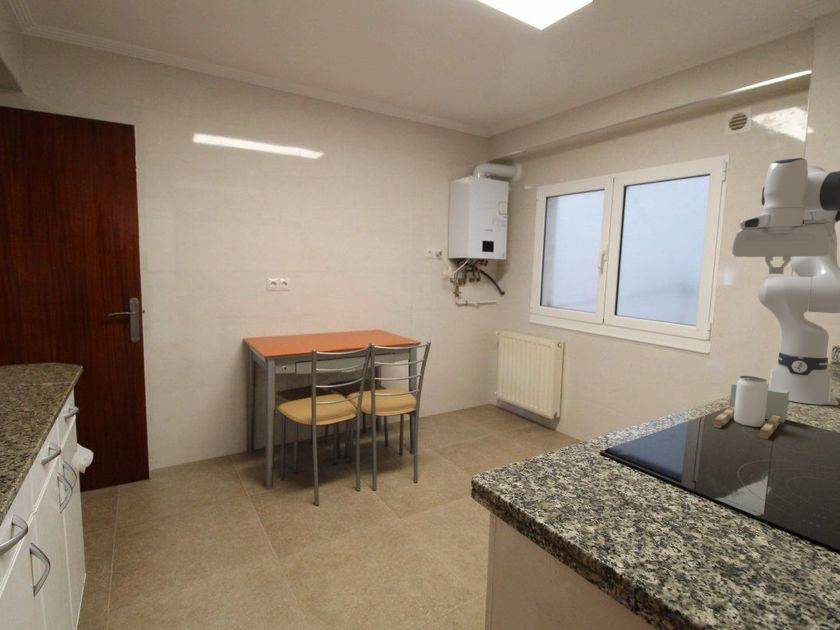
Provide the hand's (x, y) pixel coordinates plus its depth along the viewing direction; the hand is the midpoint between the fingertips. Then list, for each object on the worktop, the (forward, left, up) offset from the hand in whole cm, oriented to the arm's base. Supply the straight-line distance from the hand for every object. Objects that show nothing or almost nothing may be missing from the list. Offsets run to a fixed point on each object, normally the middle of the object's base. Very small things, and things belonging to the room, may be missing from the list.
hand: (776, 274), depth 118 cm
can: (+10, -1, -39) cm, 41 cm away
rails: (+12, -1, -39) cm, 41 cm away
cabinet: (0, -1, -39) cm, 39 cm away
